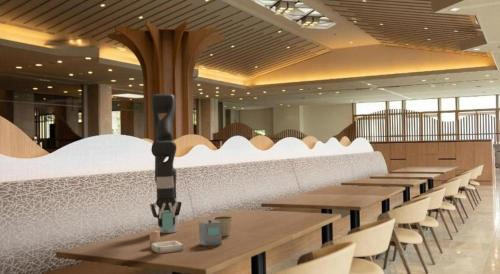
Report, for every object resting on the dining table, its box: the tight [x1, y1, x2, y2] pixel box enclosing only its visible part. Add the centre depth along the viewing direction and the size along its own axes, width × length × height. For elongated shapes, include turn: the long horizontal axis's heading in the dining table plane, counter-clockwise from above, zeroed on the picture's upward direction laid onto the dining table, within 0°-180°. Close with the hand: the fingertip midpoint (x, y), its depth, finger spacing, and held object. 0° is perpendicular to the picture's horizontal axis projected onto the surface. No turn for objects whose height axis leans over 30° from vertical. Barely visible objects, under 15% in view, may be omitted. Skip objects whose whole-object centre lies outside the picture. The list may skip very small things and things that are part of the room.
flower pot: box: [212, 215, 233, 237], centre depth 251 cm, size 9×9×9 cm
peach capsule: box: [149, 229, 161, 248], centre depth 229 cm, size 4×4×7 cm
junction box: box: [198, 219, 223, 248], centre depth 230 cm, size 7×8×11 cm
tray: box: [151, 240, 184, 254], centre depth 222 cm, size 11×11×2 cm
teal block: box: [160, 211, 173, 230], centre depth 222 cm, size 4×4×7 cm
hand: (166, 226), depth 222 cm, fingers closed on teal block, 4 cm apart
